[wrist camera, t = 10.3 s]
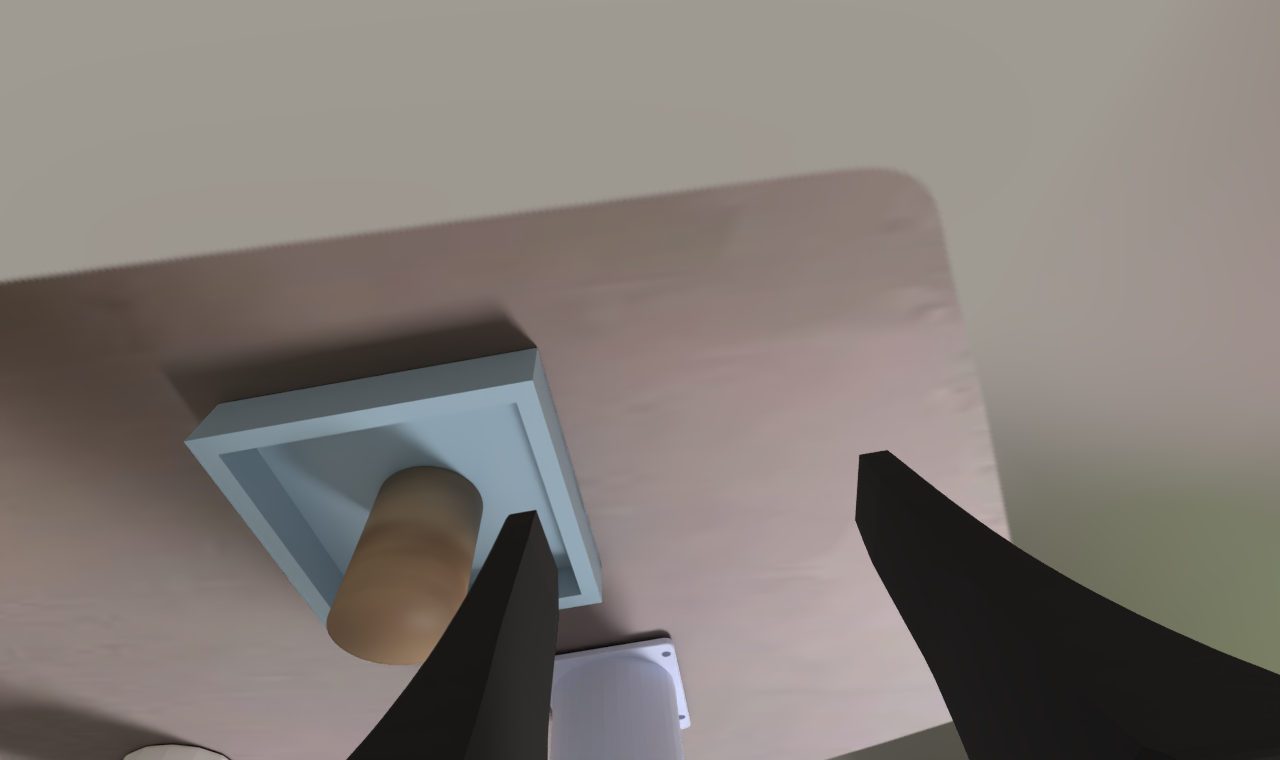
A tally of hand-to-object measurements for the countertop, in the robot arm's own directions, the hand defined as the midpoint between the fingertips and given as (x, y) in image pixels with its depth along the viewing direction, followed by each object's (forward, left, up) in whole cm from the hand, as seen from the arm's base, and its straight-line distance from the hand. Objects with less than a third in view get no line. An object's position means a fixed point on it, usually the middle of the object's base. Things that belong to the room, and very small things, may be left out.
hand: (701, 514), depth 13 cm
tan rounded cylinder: (-7, +11, -10) cm, 16 cm away
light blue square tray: (-7, +11, -10) cm, 17 cm away
